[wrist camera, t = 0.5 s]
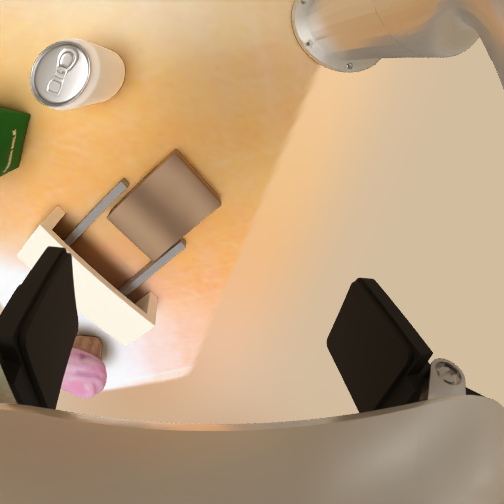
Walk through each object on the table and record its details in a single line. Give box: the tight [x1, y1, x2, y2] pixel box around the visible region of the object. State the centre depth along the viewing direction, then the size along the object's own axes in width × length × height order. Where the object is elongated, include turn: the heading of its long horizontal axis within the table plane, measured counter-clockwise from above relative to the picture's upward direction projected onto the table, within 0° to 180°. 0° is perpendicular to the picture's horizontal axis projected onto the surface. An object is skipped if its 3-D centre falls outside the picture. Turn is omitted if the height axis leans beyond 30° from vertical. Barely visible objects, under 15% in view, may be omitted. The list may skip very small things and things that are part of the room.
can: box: [30, 38, 125, 110], centre depth 24 cm, size 6×6×12 cm
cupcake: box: [61, 335, 107, 398], centre depth 42 cm, size 9×9×10 cm
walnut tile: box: [107, 149, 222, 262], centre depth 37 cm, size 11×8×3 cm
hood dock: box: [17, 178, 186, 347], centre depth 37 cm, size 15×19×6 cm
